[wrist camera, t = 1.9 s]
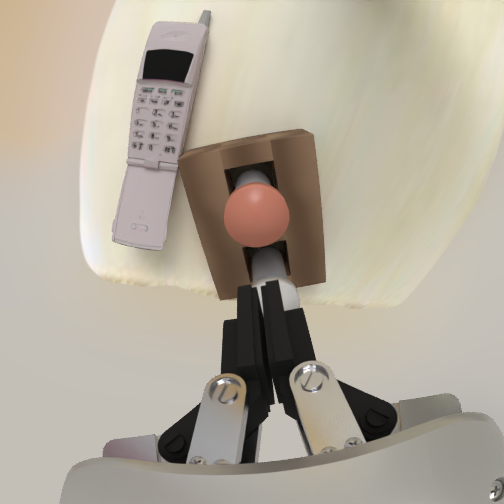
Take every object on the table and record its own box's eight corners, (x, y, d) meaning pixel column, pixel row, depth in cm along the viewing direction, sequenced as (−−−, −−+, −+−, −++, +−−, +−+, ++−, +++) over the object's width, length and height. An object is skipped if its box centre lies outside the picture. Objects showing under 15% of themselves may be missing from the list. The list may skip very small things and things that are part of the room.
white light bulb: (285, 237, 27) (297, 281, 21) (290, 272, 30) (301, 319, 24) (241, 245, 28) (242, 290, 22) (250, 279, 30) (252, 328, 24)
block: (301, 128, 26) (313, 134, 22) (315, 258, 34) (325, 282, 30) (187, 150, 27) (177, 160, 23) (222, 274, 35) (220, 300, 31)
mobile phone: (110, 244, 26) (145, -7, 13) (128, 220, 31) (162, 10, 18) (164, 254, 27) (214, -5, 14) (175, 228, 32) (218, 14, 19)
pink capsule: (273, 159, 23) (284, 182, 17) (280, 204, 26) (292, 241, 19) (223, 168, 24) (217, 194, 17) (234, 212, 26) (231, 252, 20)
